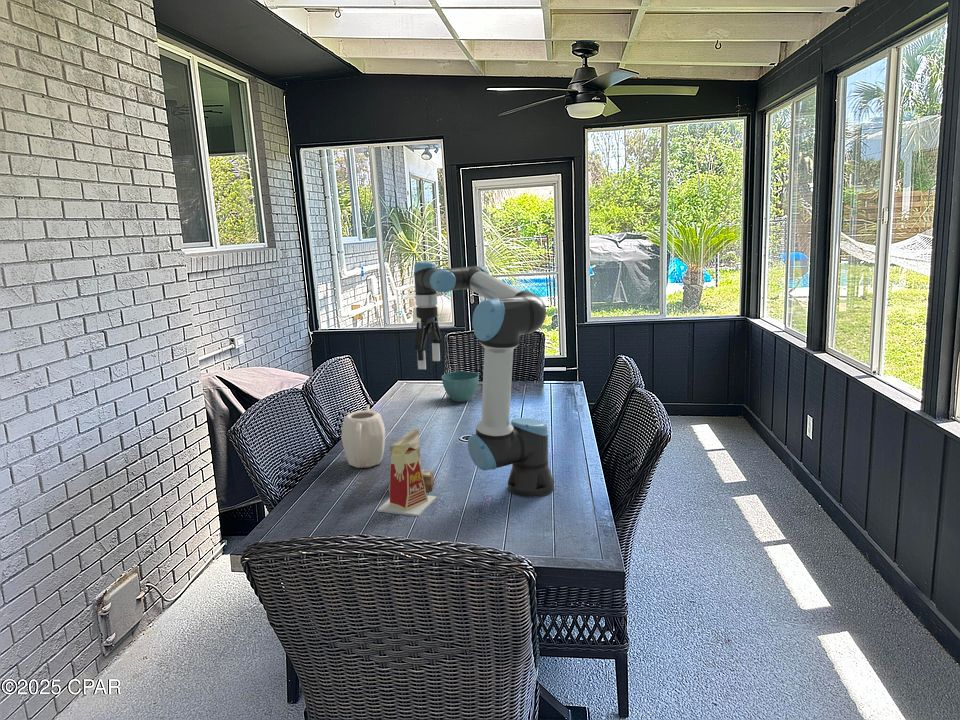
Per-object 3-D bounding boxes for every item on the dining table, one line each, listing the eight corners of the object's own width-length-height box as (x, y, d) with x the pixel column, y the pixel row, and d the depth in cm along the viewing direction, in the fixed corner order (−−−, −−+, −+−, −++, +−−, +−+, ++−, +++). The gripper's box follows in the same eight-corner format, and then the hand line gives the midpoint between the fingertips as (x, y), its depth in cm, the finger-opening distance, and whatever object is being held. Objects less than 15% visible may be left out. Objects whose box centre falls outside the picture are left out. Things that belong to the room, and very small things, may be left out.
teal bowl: (479, 404, 322) (478, 379, 319) (441, 405, 322) (440, 380, 320) (479, 394, 340) (478, 370, 337) (444, 395, 340) (442, 372, 338)
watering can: (391, 449, 262) (388, 402, 259) (382, 474, 236) (378, 423, 233) (351, 450, 262) (348, 404, 259) (338, 476, 236) (334, 424, 232)
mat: (436, 498, 214) (436, 496, 214) (418, 516, 201) (418, 514, 201) (397, 493, 219) (397, 492, 219) (377, 511, 206) (377, 509, 206)
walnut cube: (434, 485, 225) (433, 470, 224) (432, 490, 220) (431, 476, 219) (419, 485, 226) (418, 470, 225) (417, 491, 221) (416, 476, 220)
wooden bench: (426, 473, 236) (423, 429, 233) (404, 493, 219) (401, 446, 216) (410, 471, 238) (408, 428, 235) (387, 491, 221) (384, 445, 218)
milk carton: (428, 501, 211) (424, 440, 207) (406, 511, 204) (403, 448, 200) (408, 494, 217) (404, 435, 212) (386, 504, 210) (382, 443, 206)
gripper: (430, 301, 249) (432, 357, 253) (402, 311, 226) (405, 372, 230) (448, 301, 246) (451, 357, 251) (422, 311, 223) (425, 373, 228)
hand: (429, 364), depth 241 cm, fingers open, 13 cm apart
